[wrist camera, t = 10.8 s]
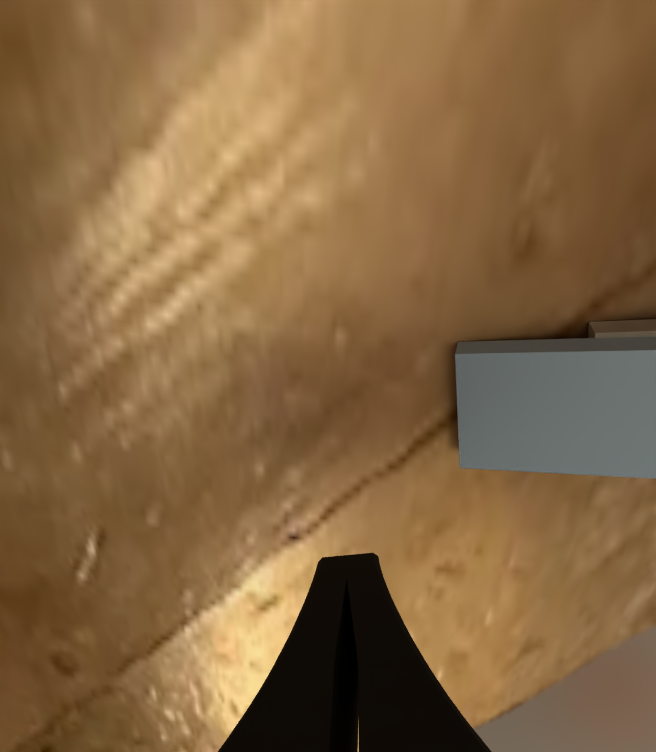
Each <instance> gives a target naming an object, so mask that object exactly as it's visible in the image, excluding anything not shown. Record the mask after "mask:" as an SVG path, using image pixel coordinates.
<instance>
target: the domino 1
mask: <svg viewBox="0 0 656 752" xmlns="http://www.w3.org/2000/svg"><path fill="white" fill-rule="evenodd" d="M455 363H456V388H457V413H458V438H459V463H460V468H470V469H488V470H507V471H525V472H544V473H562V474H581V475H599V476H618V477H636V478H654V479H656V336H649V337H612V338H576V339H539V340H502V341H465V342H458V344H457V348H456V352H455Z"/></svg>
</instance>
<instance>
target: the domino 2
mask: <svg viewBox="0 0 656 752" xmlns="http://www.w3.org/2000/svg"><path fill="white" fill-rule="evenodd" d="M649 336H656V319H647V320H623V321H598V322H589V330H588V338H612V337H649Z"/></svg>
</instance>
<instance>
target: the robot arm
mask: <svg viewBox="0 0 656 752" xmlns="http://www.w3.org/2000/svg"><path fill="white" fill-rule="evenodd" d="M358 718H359V752H491V751H490V749H489V748H488V747H487V746H486V745H485V743H484V742H483V741H482V739H481V738H480V737H479V736H478V735H477V733H476V732H475V731H474V730H473V728H472V727H471V726H470V725H469V723H468V722H467V721H466V719H465V718H464V717H463V715H462V714H461V713H460V711H459V710H458V709H457V707H456V706H455V704H454V703H453V702H452V700H451V699H450V698H449V696H448V695H447V693H446V692H445V690H444V689H443V687H442V686H441V684H440V683H439V681H438V680H437V679H436V677H435V675H434V674H433V672H432V671H431V669H430V668H429V666H428V664H427V663H426V661H425V660H424V658H423V656H422V655H421V653H420V651H419V649H418V648H417V646H416V644H415V643H414V641H413V639H412V637H411V636H410V634H409V632H408V630H407V628H406V626H405V624H404V622H403V620H402V618H401V616H400V614H399V612H398V610H397V608H396V606H395V604H394V602H393V600H392V598H391V595H390V593H389V590H388V588H387V585H386V583H385V580H384V577H383V574H382V571H381V568H380V564H379V558H378V556H377V555H376V554H374V553H366V554H355V555H344V556H334V557H323V558H321V560H320V561H319V562H318V565H317V568H316V572H315V575H314V578H313V581H312V584H311V586H310V589H309V592H308V594H307V597H306V599H305V602H304V604H303V607H302V609H301V611H300V613H299V616H298V618H297V620H296V622H295V624H294V627H293V629H292V631H291V633H290V635H289V637H288V639H287V641H286V643H285V645H284V647H283V649H282V651H281V653H280V655H279V656H278V658H277V660H276V662H275V664H274V666H273V668H272V670H271V671H270V673H269V675H268V677H267V678H266V680H265V682H264V683H263V685H262V687H261V688H260V690H259V692H258V693H257V695H256V697H255V698H254V700H253V701H252V703H251V705H250V706H249V708H248V709H247V711H246V712H245V714H244V715H243V717H242V718H241V719H240V721H239V722H238V724H237V725H236V727H235V728H234V730H233V731H232V733H231V734H230V735H229V737H228V738H227V740H226V741H225V742H224V744H223V745H222V747H221V748H220V749H219V751H218V752H357V748H358Z"/></svg>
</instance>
